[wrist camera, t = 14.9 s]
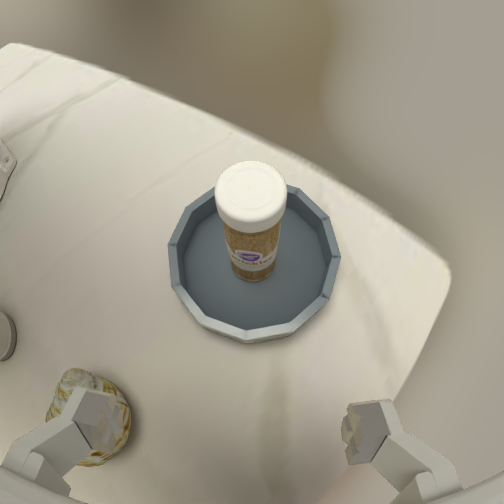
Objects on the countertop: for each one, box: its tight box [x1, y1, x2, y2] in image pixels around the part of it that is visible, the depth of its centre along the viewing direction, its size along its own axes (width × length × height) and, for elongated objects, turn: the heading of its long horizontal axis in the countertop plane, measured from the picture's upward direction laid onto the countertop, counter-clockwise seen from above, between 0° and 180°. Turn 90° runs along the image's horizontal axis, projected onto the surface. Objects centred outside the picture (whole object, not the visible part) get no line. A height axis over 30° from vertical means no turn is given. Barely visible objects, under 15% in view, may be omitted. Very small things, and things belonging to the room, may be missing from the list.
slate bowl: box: [168, 185, 341, 344], centre depth 31 cm, size 16×16×4 cm
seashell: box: [45, 369, 131, 467], centre depth 24 cm, size 10×10×10 cm
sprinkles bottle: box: [214, 161, 287, 282], centre depth 25 cm, size 5×5×13 cm
